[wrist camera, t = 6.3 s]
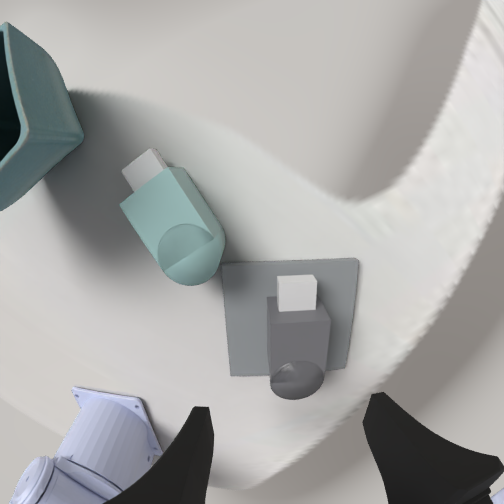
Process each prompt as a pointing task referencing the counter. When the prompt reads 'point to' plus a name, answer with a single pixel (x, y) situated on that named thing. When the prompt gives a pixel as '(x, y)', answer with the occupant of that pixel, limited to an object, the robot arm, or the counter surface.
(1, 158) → the flower pot
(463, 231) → the counter surface
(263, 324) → the coaster
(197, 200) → the teal plug
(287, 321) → the white-capped grey post
